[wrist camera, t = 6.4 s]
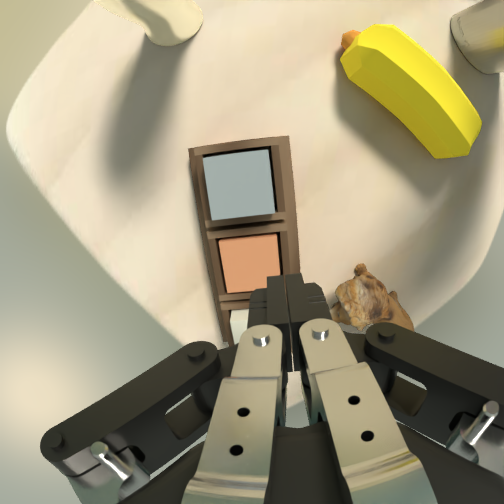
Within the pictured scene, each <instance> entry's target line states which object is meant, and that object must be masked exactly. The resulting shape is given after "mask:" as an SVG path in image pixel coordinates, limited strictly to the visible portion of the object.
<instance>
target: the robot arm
mask: <svg viewBox="0 0 504 504" xmlns="http://www.w3.org/2000/svg"><path fill="white" fill-rule="evenodd" d="M451 29H452V34H453V36H454V39H455V41H456V43H457V45H458V47H459V49H460V50H461V52H462V53H463V55H464V56H465V57H466V59H467V60H468V61H469V62H470V63H471V64H472V65H473V66H474V67H475V68H476V69H478V70H479V71H481V72H483V73H485V74H493V73H499V72H504V0H484V1H481V2H479V3H477V4H475V5H473V6H471V7H469V8H467V9H465V10H463V11H461V12H459V13H457V14H455V15H453V17H452V19H451ZM285 285H286V292H285ZM285 285H284V277H283V275H277V276H268V277H267V288H259V289H255V290H254V291H253V293H252V294H251V295H250V302H249V303H250V304H249V312H248V322H247V330H245V331H244V332H243V333H242V335H241V337H240V341H239V343H237V344H235V345H233V346H231V347H228V348H224V349H220V350H217V348H216V346H215V345H214V344H212V343H210V342H206V341H197V342H192V343H189V344H187V345H185V346H184V347H182V348H181V349H179V350H178V351H176V352H175V353H173V354H172V355H170V356H169V357H167V358H166V359H164V360H163V361H161V362H159V363H158V364H156V365H155V366H153V367H152V368H150V369H149V370H147V371H146V372H144V373H142V374H141V375H139V376H138V377H136V378H134V379H133V380H131V381H130V382H128V383H126V384H125V385H123V386H122V387H120V388H118V389H117V390H115V391H114V392H112V393H110V394H109V395H107V396H105V397H104V398H102V399H101V400H99V401H97V402H95V403H94V404H92V405H91V406H89V407H87V408H86V409H84V410H82V411H80V412H79V413H77V414H75V415H74V416H72V417H70V418H68V419H67V420H65V421H63V422H61V423H60V424H58V425H56V426H54V427H52V428H51V429H49V430H48V431H47V432H46V433H45V434H44V436H43V437H42V439H41V443H40V449H41V453H42V455H43V456H44V457H45V458H46V459H47V460H48V461H49V462H50V463H52V464H53V465H54V466H55V467H56V468H58V469H59V471H60V472H61V473H62V474H64V475H65V476H66V477H67V478H68V480H69V482H70V484H71V485H72V487H73V489H74V491H75V493H76V495H77V496H78V498H79V500H80V502H81V503H82V504H504V368H502V367H499V366H497V365H494V364H492V363H489V362H487V361H484V360H482V359H479V358H477V357H474V356H472V355H469V354H467V353H465V352H462V351H460V350H457V349H455V348H452V347H450V346H448V345H445V344H443V343H440V342H438V341H435V340H433V339H431V338H428V337H425V336H423V335H421V334H418V333H416V332H414V331H411V330H409V329H406V328H404V327H402V326H399V325H397V324H394V323H390V322H380V323H376V324H374V325H372V326H370V327H369V328H368V329H367V331H366V334H352V333H347V332H344V331H342V329H341V327H340V326H339V325H338V324H337V323H336V322H334V321H333V319H332V316H331V313H330V311H329V308H328V305H327V302H326V299H325V296H324V294H323V291H322V288H321V287H320V286H318V285H317V284H316V283H306V284H304V281H303V278H302V274H301V273H295V274H286V275H285ZM286 297H287V300H286ZM290 335H291V340H290ZM291 344H292V353H293V363H294V371H300V373H301V388H302V393H303V397H304V402H305V406H306V411H307V415H308V420H309V426H307V427H304V428H290V427H285V422H286V401H287V383H288V372H293V369H292V354H291ZM397 372H400V373H402V374H404V375H406V376H408V377H410V378H412V379H415V380H416V381H418V382H421V383H422V384H423V385H425V387H426V389H427V390H425V389H423V388H421V387H419V386H416V385H415V384H413V383H410V382H408V381H407V380H405V379H403V378H400V377H399V376H397ZM190 393H191V395H192V396H190V397H189V398H188V399H186V400H185V401H184V402H182V403H181V404H180V405H178V406H177V407H176V408H174V409H173V410H171V411H170V412H169V413H167V414H166V412H167V410H168V409H170V408H171V407H172V406H174V405H175V404H176V403H178V402H179V401H181V400H182V399H183V398H185V397H186V396H187V395H189V394H190ZM165 414H166V415H165ZM395 419H396V420H398V421H400V422H401V423H403V424H405V425H403V424H401V423H398V422H396V421H395ZM406 425H407V426H406ZM408 426H409V427H408ZM411 428H412V429H411ZM413 429H414V430H413ZM415 430H416V431H418V432H420V433H422V434H424V435H426V436H428V437H430V438H431V439H433V440H436V441H437V442H439V443H441V444H444V445H445V446H446V448H445V447H443V446H441V445H439V444H438V443H436V442H434V441H432V440H430V439H429V438H427V437H425V436H423V435H422V434H420V433H418V432H416V431H415ZM206 432H208V433H207V436H206V440H205V441H203V442H201V443H200V444H197V445H196V446H194V447H193V448H191V449H190V450H189V451H188V452H186V453H185V454H184V455H183V456H181V457H180V458H179V459H178V460H177V461H175V462H174V463H173V464H171V465H170V466H169V467H168V468H166V469H165V470H164V471H162V472H161V473H160V474H159V475H157V476H156V477H154V478H153V479H152V480H150V474H152V473H153V472H155V471H156V470H158V469H159V468H160V467H162V466H163V465H165V464H166V463H167V462H169V461H170V460H172V459H173V458H174V457H176V456H177V455H178V454H180V453H181V452H182V451H184V450H185V449H186V448H187V447H189V446H190V445H191V444H193V443H194V442H195V441H196V440H198V439H199V438H200V437H201V436H203V435H204V434H205V433H206Z"/></svg>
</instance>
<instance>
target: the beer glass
mask: <svg viewBox="0 0 504 504" xmlns="http://www.w3.org/2000/svg"><path fill="white" fill-rule="evenodd" d="M93 1H94V2H96V3H97V4H98V5H100V6H101V7H103V8H104V9H106V10H107V11H109V12H111V13H113V14H115V15H117V16H119V17H122V18H124V19H126V20H129V21H131V22H133V23H136V24H138V25H140V26H141V27H142V28H143V29H144V30H145V32H146V35H147V37H148V38H149V39H150V41H152V42H153V43H155V44H157V45H160V46H173V45H177V44H180V43H183V42H185V41H187V40H188V39H190V38H191V37H192V36H194V35H195V34H196V32H197V31H198V30H199V28H200V27H201V24H202V21H203V14H202V11H201V9H200V7H199V6H198V5H197V4H196V3H195V2H194V1H193V0H93Z"/></svg>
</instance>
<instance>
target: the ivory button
mask: <svg viewBox="0 0 504 504" xmlns="http://www.w3.org/2000/svg"><path fill="white" fill-rule="evenodd" d="M248 312H249V308H244V309H232V312H231V318H230V324H231V329H232V334H233V339H234V344H237V343H239V341H240V337H241V335H242V333H243V332H244V331H245V330H247V322H248Z"/></svg>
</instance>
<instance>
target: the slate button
mask: <svg viewBox="0 0 504 504" xmlns="http://www.w3.org/2000/svg"><path fill="white" fill-rule="evenodd" d="M203 164H204V171H205V178H206V185H207V192H208V198H209V205H210V211H211V217H212V220H220V219H228V218H237V217H245V216H254V215H264V214H273V213H275V207H274V198H273V188H272V179H271V170H270V161H269V152H268V150H258V151H250V152H241V153H234V154H226V155H219V156H213V157H206V158H203Z"/></svg>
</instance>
